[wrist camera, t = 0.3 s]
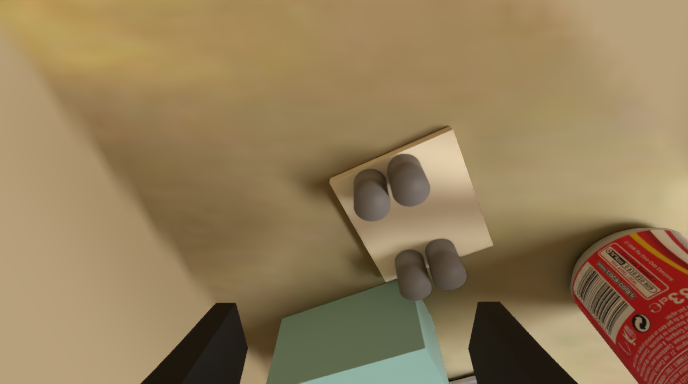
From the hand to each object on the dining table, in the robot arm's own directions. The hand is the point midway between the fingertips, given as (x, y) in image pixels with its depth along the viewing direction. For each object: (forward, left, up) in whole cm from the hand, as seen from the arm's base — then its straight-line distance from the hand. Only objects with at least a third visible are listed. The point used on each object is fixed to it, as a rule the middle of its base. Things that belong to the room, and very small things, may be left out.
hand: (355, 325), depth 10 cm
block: (-10, +5, -10) cm, 15 cm away
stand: (-3, -2, -10) cm, 11 cm away
